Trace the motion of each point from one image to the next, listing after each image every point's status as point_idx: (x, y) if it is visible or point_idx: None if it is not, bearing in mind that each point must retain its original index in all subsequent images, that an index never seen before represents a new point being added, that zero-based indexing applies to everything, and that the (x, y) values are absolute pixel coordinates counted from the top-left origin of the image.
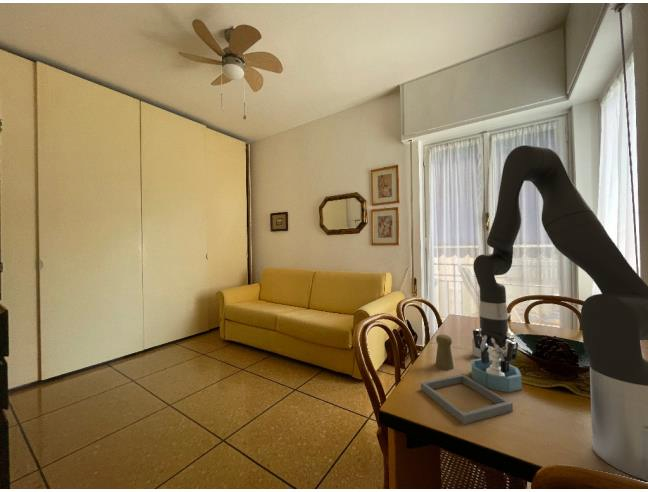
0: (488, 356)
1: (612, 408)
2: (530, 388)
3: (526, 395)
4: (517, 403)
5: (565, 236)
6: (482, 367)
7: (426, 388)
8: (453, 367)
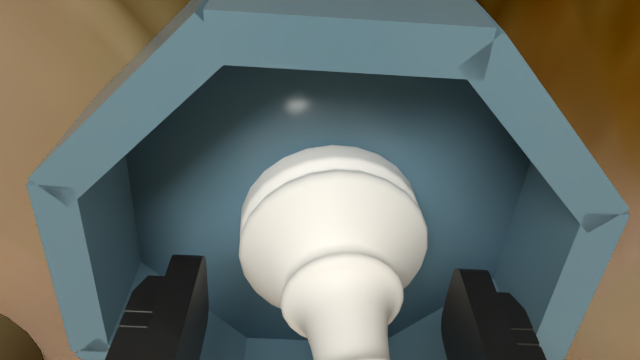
0: (184, 328)
1: None
2: (614, 30)
3: (627, 193)
4: (616, 336)
5: None
6: (120, 173)
7: None
8: (12, 329)
